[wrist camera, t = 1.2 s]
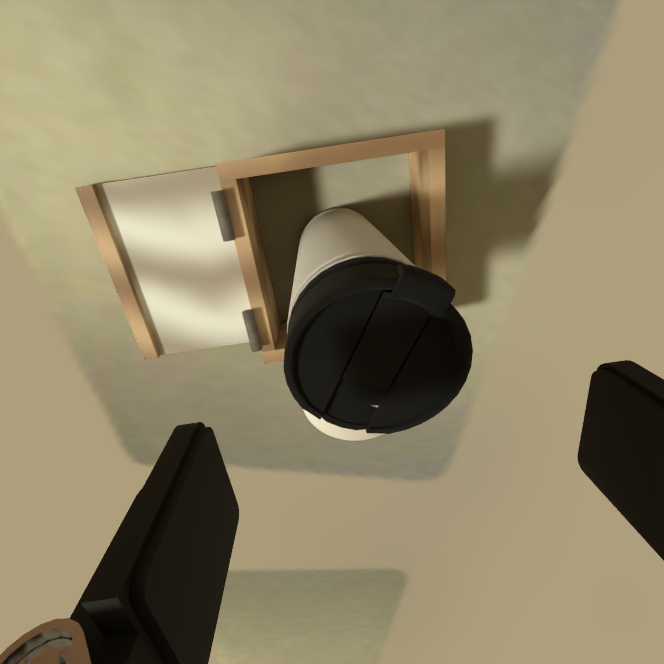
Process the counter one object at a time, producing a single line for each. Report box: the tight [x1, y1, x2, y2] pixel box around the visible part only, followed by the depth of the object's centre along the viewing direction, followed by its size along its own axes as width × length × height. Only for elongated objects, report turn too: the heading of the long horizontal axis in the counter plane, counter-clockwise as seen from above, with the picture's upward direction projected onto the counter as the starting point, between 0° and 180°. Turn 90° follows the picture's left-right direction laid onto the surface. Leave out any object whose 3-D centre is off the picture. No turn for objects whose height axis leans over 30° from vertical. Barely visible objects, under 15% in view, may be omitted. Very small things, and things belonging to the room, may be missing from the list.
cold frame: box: [75, 129, 446, 363], centre depth 27 cm, size 14×25×6 cm, turn 98°
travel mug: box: [284, 207, 473, 434], centre depth 20 cm, size 6×7×20 cm
